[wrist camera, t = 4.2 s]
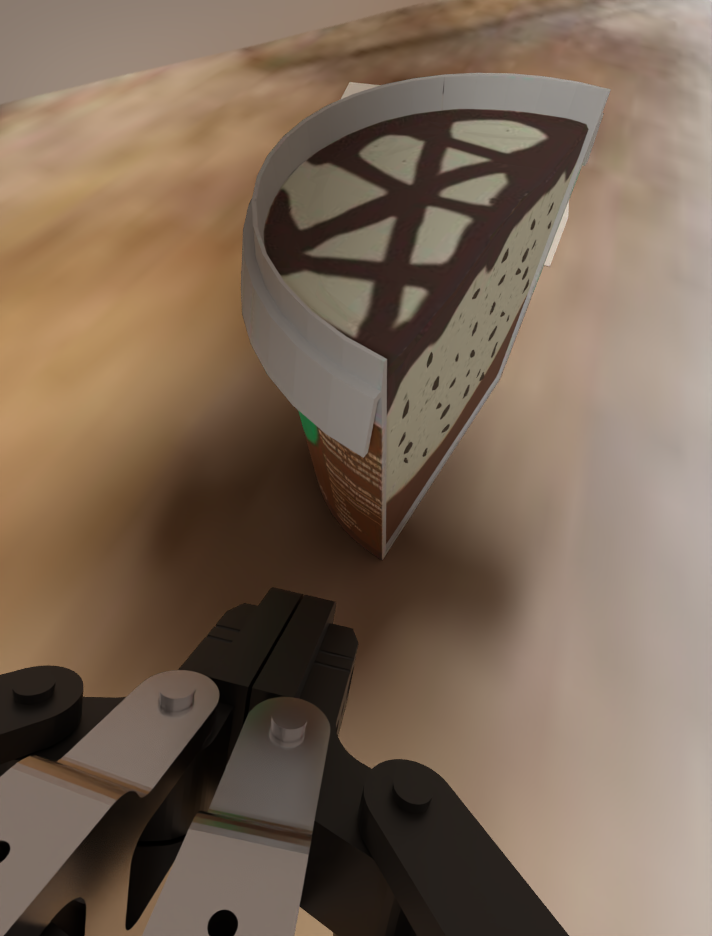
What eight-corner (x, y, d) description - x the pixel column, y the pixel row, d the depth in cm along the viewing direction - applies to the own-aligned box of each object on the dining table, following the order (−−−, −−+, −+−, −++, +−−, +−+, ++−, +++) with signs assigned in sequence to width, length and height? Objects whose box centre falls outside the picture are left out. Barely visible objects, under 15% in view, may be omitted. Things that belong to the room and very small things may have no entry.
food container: (388, 302, 24) (410, 28, 15) (514, 356, 22) (617, 80, 14) (207, 504, 18) (83, 245, 10) (357, 597, 16) (367, 382, 8)
